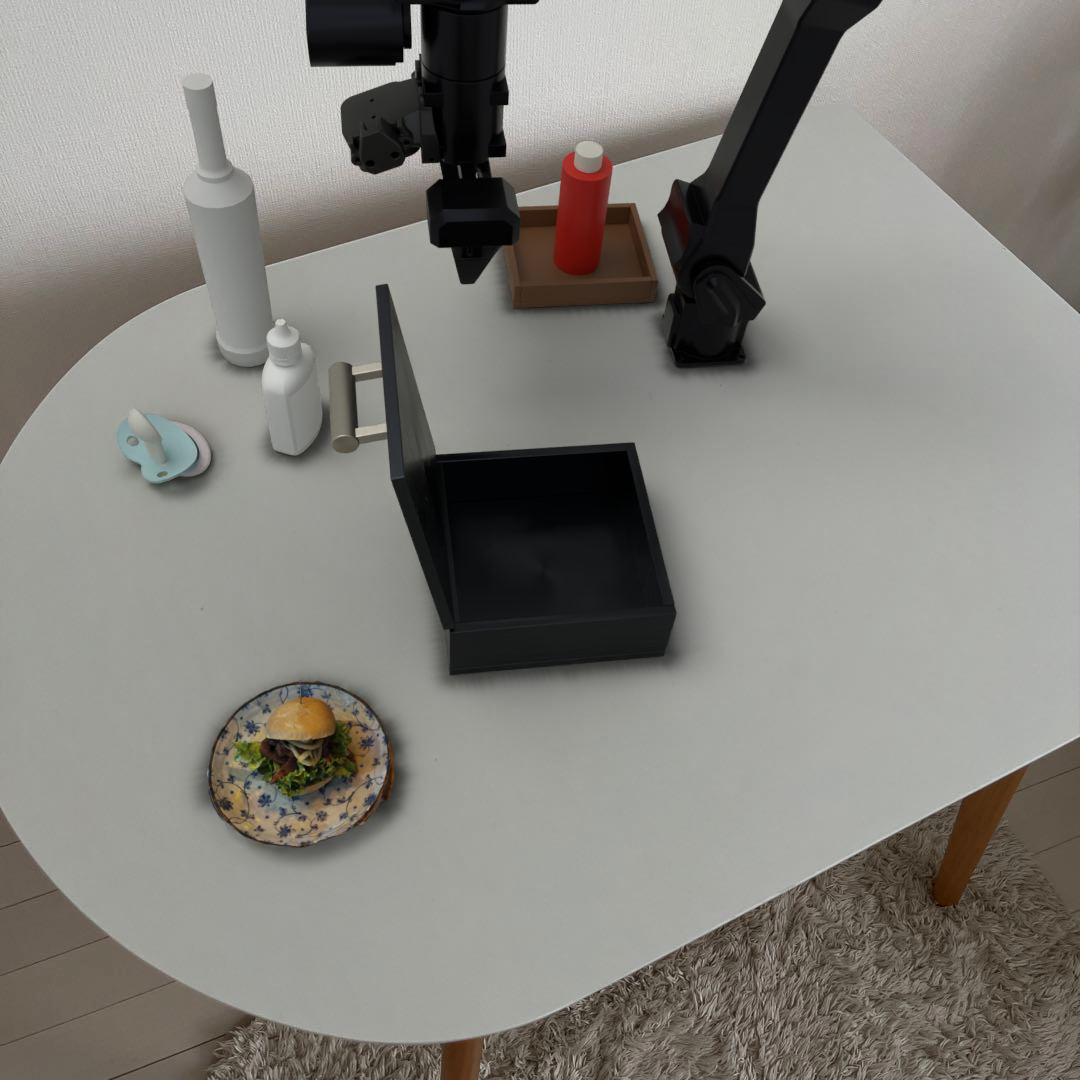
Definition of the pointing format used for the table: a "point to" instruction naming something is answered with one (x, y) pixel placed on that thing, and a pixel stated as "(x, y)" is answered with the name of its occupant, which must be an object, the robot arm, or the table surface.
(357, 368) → the door
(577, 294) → the tray
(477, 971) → the table surface
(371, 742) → the burger
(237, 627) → the table surface
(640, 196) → the table surface
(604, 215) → the ketchup
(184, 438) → the pacifier
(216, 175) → the bottle
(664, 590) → the black open box
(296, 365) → the eye dropper bottle
